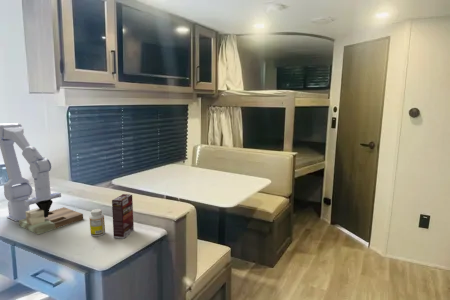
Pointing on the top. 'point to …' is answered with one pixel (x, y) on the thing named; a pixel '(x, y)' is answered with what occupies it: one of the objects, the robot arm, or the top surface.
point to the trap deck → (53, 220)
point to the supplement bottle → (97, 222)
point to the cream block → (35, 216)
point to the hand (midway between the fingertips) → (45, 216)
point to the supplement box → (122, 216)
